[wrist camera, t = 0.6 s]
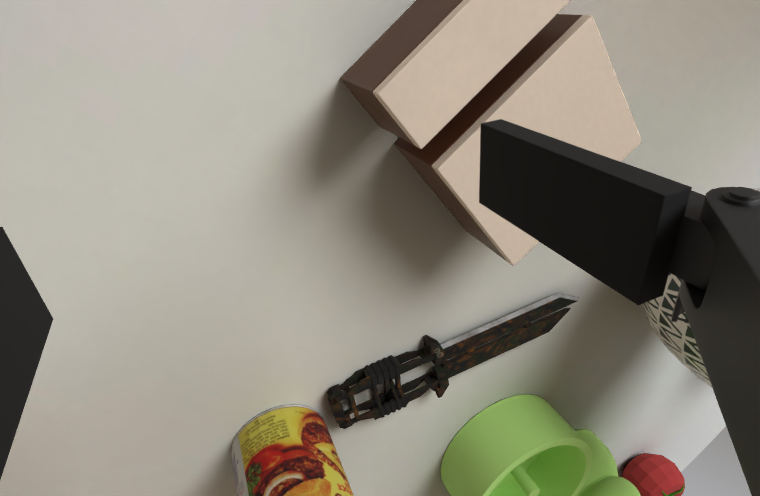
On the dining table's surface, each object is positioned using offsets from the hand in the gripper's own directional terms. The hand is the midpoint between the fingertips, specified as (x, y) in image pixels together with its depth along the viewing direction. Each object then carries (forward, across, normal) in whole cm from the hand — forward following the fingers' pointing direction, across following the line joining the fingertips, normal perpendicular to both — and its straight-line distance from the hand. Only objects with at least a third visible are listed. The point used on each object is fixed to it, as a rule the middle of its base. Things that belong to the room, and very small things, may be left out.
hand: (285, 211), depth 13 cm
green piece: (+16, +24, -44) cm, 52 cm away
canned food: (+16, -2, -27) cm, 31 cm away
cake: (+16, +18, -5) cm, 24 cm away
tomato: (+15, +43, -58) cm, 74 cm away
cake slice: (+16, +13, +2) cm, 21 cm away
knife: (+16, +15, -24) cm, 32 cm away
